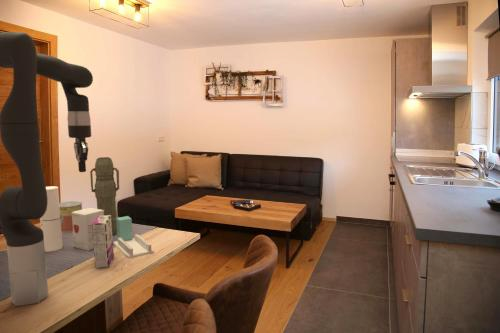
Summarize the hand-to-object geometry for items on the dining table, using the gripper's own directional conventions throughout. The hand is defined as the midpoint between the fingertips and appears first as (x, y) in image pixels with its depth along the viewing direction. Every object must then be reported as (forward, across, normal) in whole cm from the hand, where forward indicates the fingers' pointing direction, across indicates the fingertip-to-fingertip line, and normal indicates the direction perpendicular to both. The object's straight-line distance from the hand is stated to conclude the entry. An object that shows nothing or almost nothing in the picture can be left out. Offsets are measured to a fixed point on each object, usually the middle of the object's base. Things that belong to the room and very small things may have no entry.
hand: (82, 171), depth 135 cm
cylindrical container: (+33, +19, +9) cm, 39 cm away
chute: (+33, +1, -17) cm, 37 cm away
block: (+32, +11, -17) cm, 38 cm away
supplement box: (+33, +14, -4) cm, 36 cm away
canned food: (+33, +45, -2) cm, 56 cm away
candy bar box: (+33, -8, -4) cm, 34 cm away
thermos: (+33, +25, -14) cm, 44 cm away
